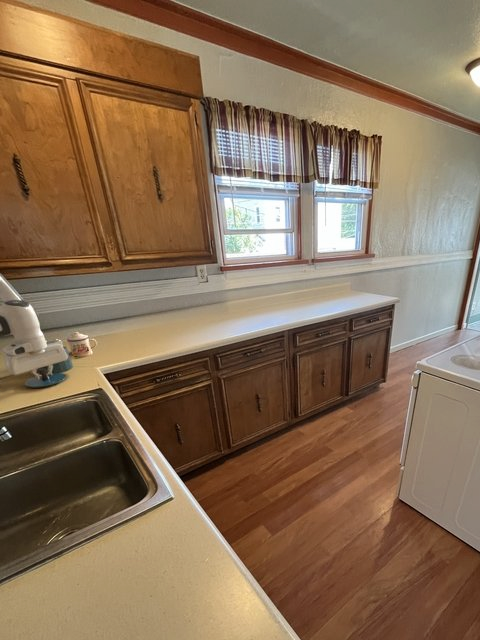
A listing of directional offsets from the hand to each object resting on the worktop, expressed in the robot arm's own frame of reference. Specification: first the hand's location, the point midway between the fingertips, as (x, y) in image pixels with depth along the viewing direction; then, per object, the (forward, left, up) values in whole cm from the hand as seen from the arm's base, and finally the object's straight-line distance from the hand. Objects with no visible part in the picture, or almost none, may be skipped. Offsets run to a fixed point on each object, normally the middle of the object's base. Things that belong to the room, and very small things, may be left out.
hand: (44, 377), depth 132 cm
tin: (+10, +12, -3) cm, 16 cm away
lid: (0, 0, -2) cm, 2 cm away
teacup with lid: (+30, +22, -3) cm, 38 cm away
